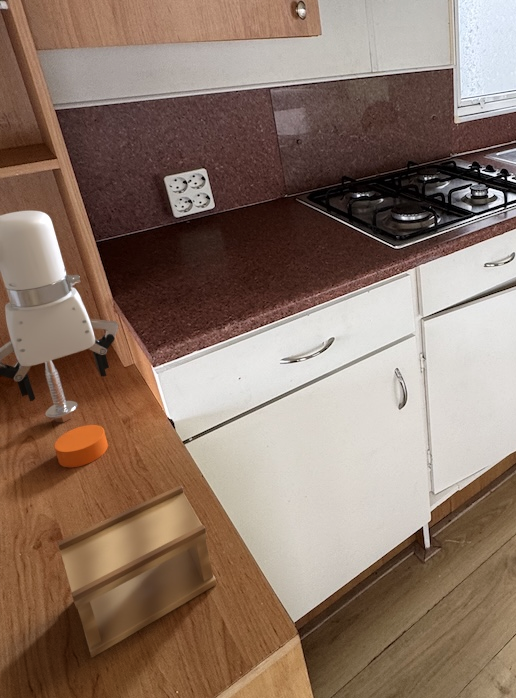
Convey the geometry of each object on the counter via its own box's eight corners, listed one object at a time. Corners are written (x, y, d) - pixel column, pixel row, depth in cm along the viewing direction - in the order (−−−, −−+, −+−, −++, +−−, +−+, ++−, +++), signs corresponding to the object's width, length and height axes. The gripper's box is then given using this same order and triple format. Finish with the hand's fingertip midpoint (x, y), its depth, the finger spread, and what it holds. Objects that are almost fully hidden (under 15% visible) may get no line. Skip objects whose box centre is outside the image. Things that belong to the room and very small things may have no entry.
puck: (52, 471, 95) (47, 456, 94) (66, 444, 101) (61, 429, 100) (102, 461, 98) (98, 446, 96) (112, 435, 104) (108, 421, 103)
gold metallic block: (91, 658, 67) (72, 597, 64) (75, 599, 74) (57, 541, 71) (216, 584, 77) (205, 527, 73) (192, 538, 83) (180, 484, 80)
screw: (60, 410, 110) (85, 410, 110) (41, 426, 106) (68, 426, 106) (43, 350, 106) (70, 351, 106) (23, 365, 101) (51, 365, 101)
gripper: (100, 268, 97) (122, 356, 103) (-36, 300, 86) (-2, 396, 92) (110, 282, 92) (133, 373, 98) (-33, 317, 81) (3, 418, 87)
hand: (68, 384), depth 95 cm, fingers open, 9 cm apart
